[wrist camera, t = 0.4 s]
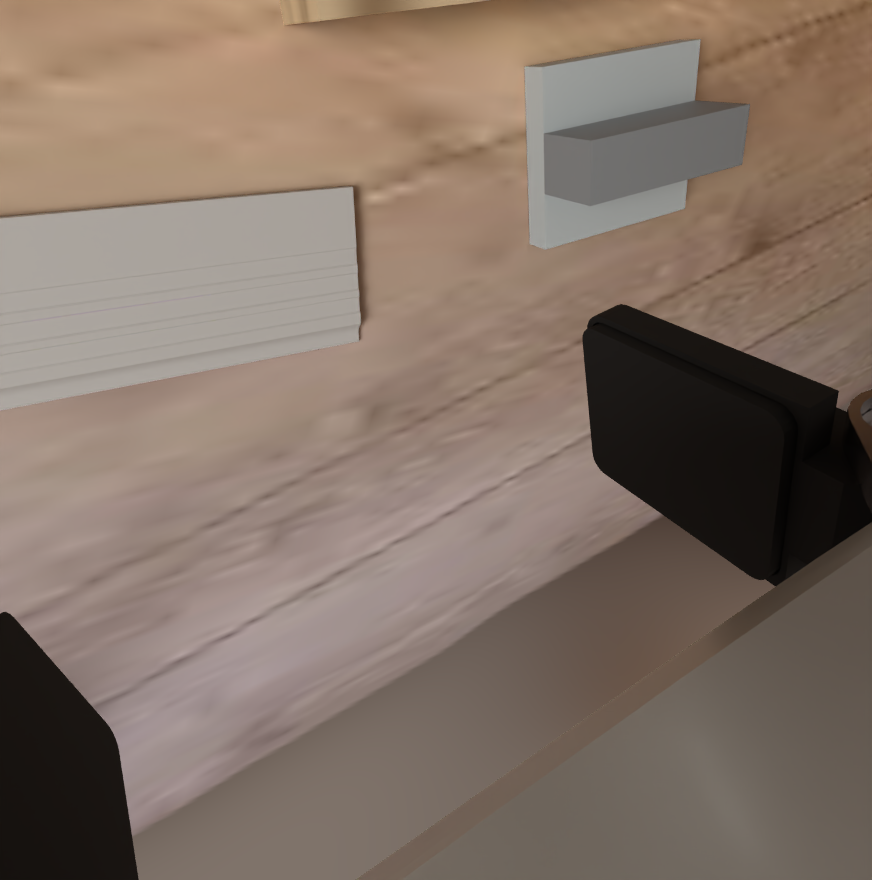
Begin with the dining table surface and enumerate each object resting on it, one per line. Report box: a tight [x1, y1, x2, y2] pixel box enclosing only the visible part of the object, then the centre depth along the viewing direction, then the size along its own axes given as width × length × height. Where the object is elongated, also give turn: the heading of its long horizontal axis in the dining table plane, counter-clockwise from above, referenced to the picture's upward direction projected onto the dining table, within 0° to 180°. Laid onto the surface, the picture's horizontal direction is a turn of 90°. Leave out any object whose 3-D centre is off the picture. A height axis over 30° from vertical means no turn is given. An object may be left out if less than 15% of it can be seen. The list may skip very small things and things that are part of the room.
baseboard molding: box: [0, 186, 361, 411], centre depth 39 cm, size 31×3×12 cm
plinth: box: [525, 39, 750, 250], centre depth 48 cm, size 12×14×7 cm
